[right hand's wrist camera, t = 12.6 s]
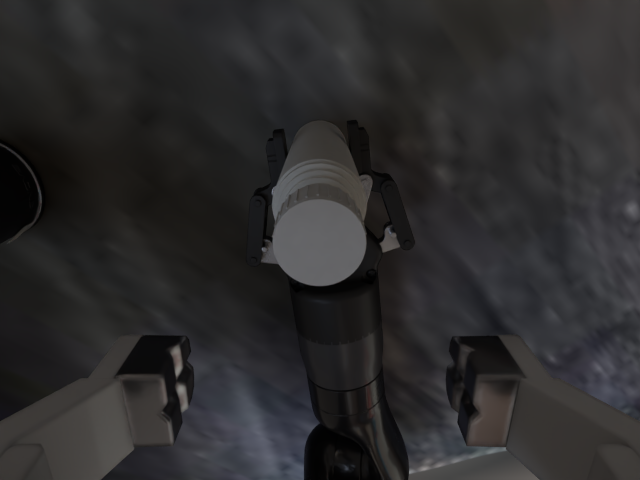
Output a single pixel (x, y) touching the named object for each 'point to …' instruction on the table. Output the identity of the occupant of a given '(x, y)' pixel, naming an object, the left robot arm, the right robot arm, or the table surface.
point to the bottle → (319, 165)
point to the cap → (319, 235)
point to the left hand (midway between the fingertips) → (314, 127)
